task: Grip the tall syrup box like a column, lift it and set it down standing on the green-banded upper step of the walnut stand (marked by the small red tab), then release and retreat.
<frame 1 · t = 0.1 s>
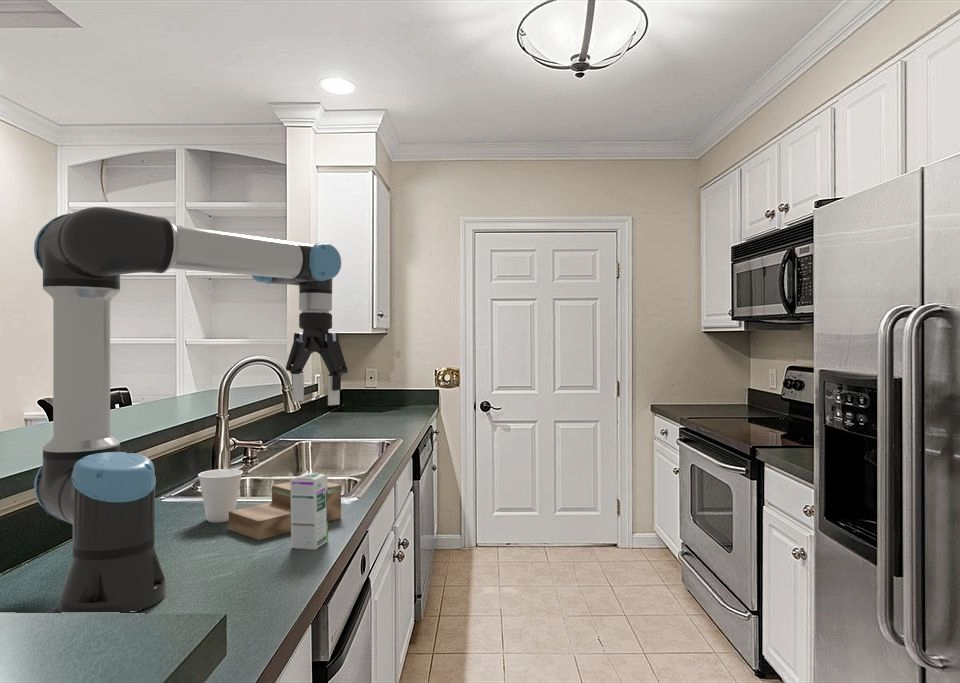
hand: (315, 403, 152), 28 cm above the worktop, fingers open, 13 cm apart
syrup box: (309, 546, 135), on the worktop
cup: (220, 520, 154), on the worktop
step stand: (286, 523, 151), on the worktop
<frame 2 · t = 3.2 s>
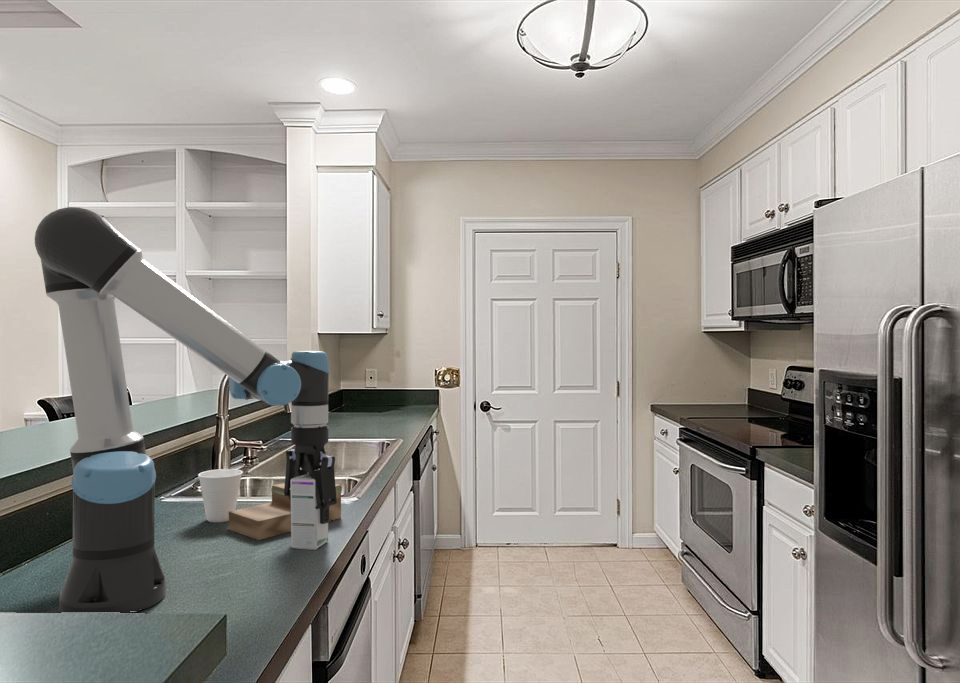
hand: (309, 534, 135), 2 cm above the worktop, fingers closed on syrup box, 7 cm apart
syrup box: (309, 546, 135), on the worktop, touching gripper
everything else where it was.
when the fingers open (12 cm above the worktop, at t = 7.6 s): syrup box drops 1 cm, resting on step stand.
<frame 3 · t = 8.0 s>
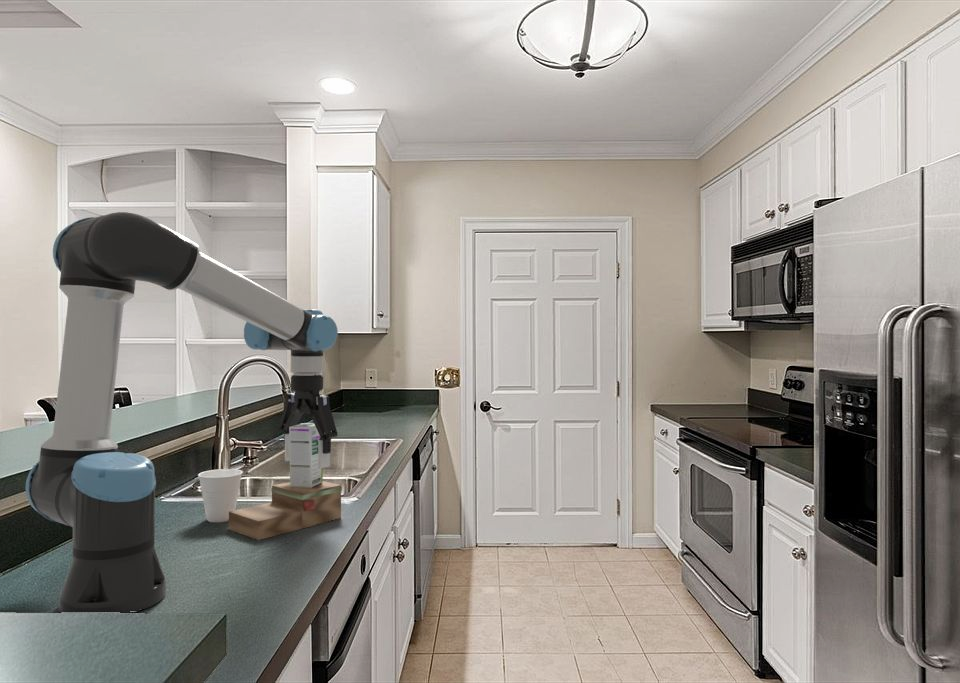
hand: (306, 463, 155), 13 cm above the worktop, fingers open, 13 cm apart
syrup box: (306, 485, 155), point 8 cm above the worktop, touching step stand
everything else where it was.
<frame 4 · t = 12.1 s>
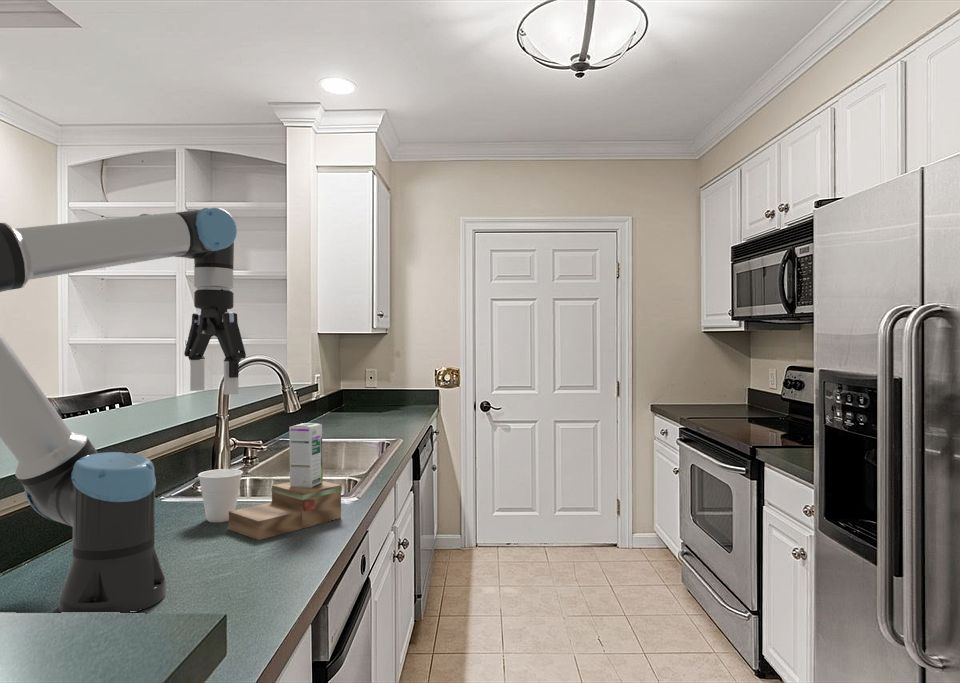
hand: (213, 392, 135), 32 cm above the worktop, fingers open, 13 cm apart
nothing on the worktop moved.
at the end: syrup box inside the target area on the step stand (0.3 cm from its centre), point 7.8 cm above the step stand's base; syrup box tilted 0°; the gripper is holding nothing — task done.
